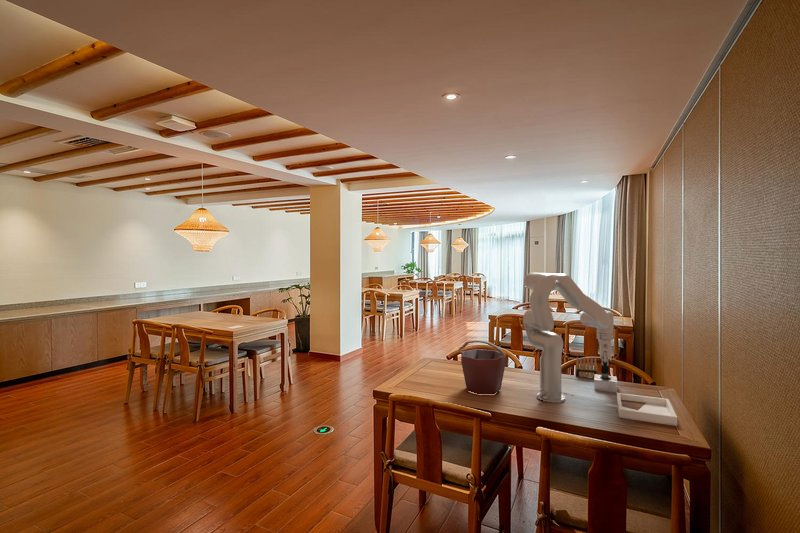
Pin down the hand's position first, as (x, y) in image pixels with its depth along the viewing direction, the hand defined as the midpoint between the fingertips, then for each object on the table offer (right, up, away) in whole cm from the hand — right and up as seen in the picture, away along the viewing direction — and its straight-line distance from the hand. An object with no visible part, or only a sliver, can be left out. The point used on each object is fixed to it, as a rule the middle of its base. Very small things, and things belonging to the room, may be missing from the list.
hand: (605, 372), depth 197 cm
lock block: (0, -9, 0) cm, 9 cm away
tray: (+2, -10, -28) cm, 30 cm away
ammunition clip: (0, -9, +19) cm, 21 cm away
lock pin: (0, -7, 0) cm, 7 cm away
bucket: (-60, -10, +4) cm, 61 cm away
